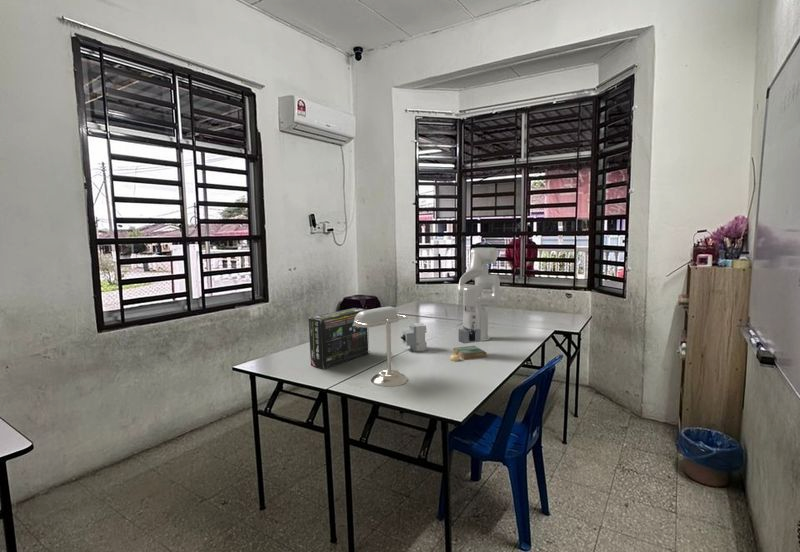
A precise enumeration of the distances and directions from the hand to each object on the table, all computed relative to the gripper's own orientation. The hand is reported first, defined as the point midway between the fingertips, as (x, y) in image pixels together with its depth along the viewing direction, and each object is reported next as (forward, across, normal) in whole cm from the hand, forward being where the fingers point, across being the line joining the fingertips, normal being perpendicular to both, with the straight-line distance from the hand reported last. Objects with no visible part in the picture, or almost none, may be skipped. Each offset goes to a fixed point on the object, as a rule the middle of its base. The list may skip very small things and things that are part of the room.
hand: (469, 339), depth 239 cm
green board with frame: (+9, 0, 0) cm, 9 cm away
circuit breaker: (+9, +21, +27) cm, 35 cm away
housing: (+1, 0, 0) cm, 1 cm away
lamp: (+10, -21, +56) cm, 60 cm away
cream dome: (+10, -6, +12) cm, 16 cm away
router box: (+10, +16, +72) cm, 74 cm away
